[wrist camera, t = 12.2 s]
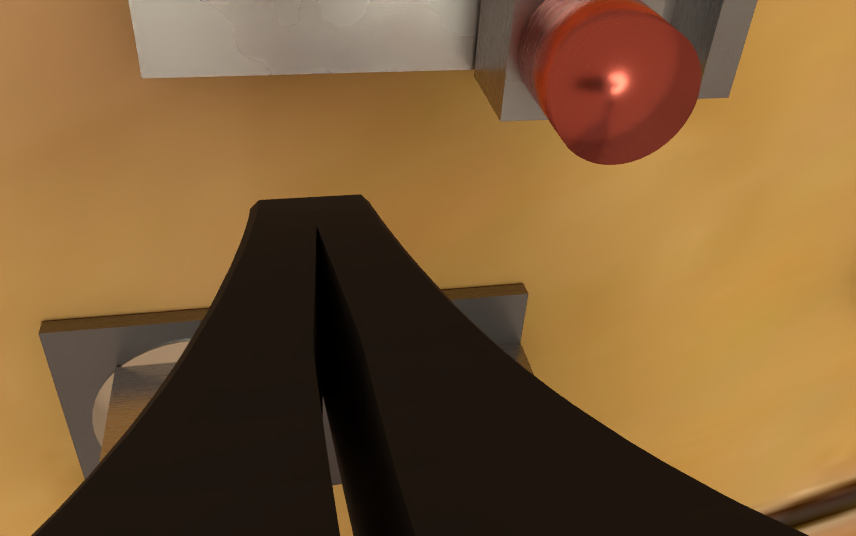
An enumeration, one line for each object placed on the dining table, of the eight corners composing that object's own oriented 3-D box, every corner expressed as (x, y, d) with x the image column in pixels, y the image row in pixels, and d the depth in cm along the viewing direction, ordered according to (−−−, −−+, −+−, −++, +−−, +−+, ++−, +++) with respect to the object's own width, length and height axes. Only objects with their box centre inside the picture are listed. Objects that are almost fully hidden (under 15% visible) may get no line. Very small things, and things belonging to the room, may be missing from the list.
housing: (281, 453, 26) (292, 623, 22) (140, 469, 26) (119, 649, 21) (273, 353, 24) (283, 523, 19) (115, 367, 23) (84, 548, 18)
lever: (600, 72, 20) (686, 169, 16) (474, 76, 19) (533, 177, 15) (626, -64, 18) (732, 8, 14) (487, -66, 17) (558, 11, 13)
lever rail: (672, 48, 21) (728, 97, 18) (145, 60, 18) (132, 119, 16) (702, -73, 19) (768, -35, 17) (122, -77, 17) (104, -35, 14)
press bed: (496, 454, 29) (532, 560, 26) (97, 501, 27) (77, 627, 23) (523, 283, 25) (571, 386, 21) (42, 321, 22) (5, 445, 19)
